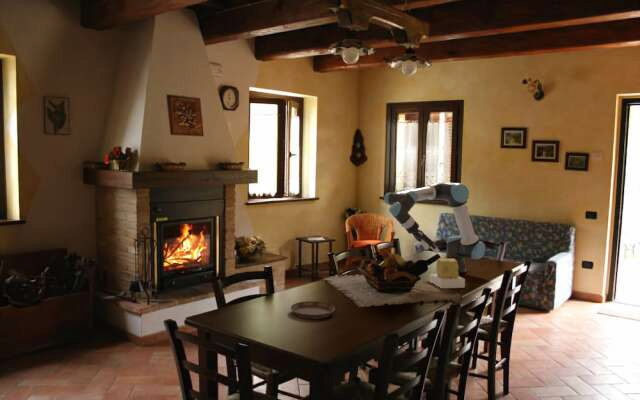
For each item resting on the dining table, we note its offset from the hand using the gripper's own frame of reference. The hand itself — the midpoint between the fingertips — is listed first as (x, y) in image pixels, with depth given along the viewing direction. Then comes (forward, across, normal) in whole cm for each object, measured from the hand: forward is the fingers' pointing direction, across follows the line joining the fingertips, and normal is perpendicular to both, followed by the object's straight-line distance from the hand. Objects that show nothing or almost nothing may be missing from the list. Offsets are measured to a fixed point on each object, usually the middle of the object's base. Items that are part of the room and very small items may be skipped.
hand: (433, 250), depth 312 cm
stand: (+22, 0, -8) cm, 23 cm away
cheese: (+18, 0, -4) cm, 19 cm away
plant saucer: (-42, +46, -73) cm, 96 cm away
